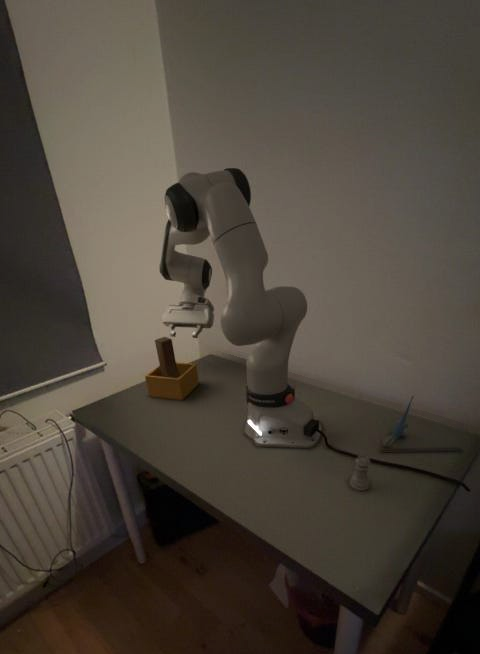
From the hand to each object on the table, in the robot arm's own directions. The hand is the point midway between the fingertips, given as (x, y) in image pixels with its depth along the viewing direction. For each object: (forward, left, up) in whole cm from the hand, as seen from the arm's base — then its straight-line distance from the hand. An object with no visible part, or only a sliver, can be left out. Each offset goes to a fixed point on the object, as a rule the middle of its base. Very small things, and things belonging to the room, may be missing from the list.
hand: (183, 336), depth 131 cm
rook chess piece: (-68, +47, -16) cm, 84 cm away
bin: (0, +12, -16) cm, 20 cm away
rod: (-82, +30, -17) cm, 89 cm away
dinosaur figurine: (-76, +26, -16) cm, 82 cm away
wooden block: (0, +12, -15) cm, 20 cm away
